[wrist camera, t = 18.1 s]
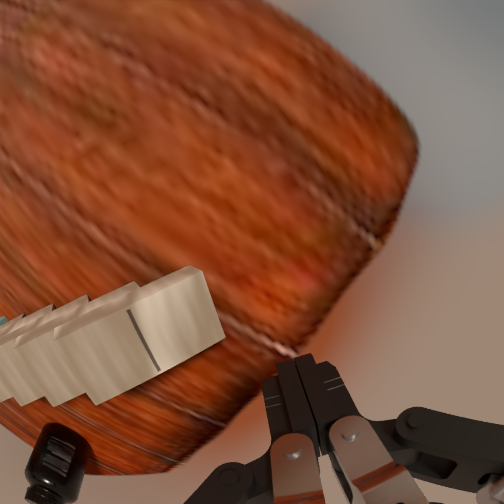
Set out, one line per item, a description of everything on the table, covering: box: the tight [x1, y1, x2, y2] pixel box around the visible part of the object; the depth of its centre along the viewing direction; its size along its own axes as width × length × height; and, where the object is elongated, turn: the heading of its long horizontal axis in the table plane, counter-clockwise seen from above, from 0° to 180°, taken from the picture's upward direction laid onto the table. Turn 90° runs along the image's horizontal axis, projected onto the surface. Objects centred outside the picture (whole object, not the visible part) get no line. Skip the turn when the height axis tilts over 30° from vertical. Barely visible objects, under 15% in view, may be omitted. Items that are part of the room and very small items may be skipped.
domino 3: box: [13, 281, 140, 407], centre depth 16 cm, size 2×5×10 cm
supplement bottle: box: [25, 423, 90, 504], centre depth 18 cm, size 7×7×12 cm
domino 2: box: [0, 294, 90, 406], centre depth 16 cm, size 2×5×10 cm
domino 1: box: [0, 304, 56, 402], centre depth 16 cm, size 2×5×10 cm
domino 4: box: [53, 265, 225, 405], centre depth 16 cm, size 2×5×10 cm
